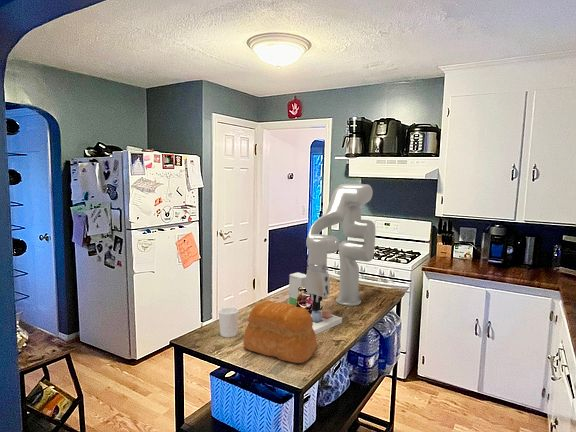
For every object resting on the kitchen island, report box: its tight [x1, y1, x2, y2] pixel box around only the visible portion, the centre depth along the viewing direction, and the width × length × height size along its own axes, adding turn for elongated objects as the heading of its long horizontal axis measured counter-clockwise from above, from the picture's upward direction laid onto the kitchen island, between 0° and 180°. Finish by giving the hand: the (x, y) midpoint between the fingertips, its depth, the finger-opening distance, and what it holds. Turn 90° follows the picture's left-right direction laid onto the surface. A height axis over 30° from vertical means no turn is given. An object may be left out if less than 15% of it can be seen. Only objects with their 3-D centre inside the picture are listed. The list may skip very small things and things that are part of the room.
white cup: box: [218, 306, 239, 338], centre depth 157 cm, size 8×8×10 cm
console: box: [310, 310, 343, 335], centre depth 164 cm, size 20×12×4 cm, turn 136°
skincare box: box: [287, 271, 307, 306], centre depth 190 cm, size 8×7×16 cm
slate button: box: [311, 310, 322, 323], centre depth 163 cm, size 4×4×4 cm
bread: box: [243, 300, 318, 364], centre depth 144 cm, size 16×26×17 cm, turn 61°
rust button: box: [321, 309, 332, 319], centre depth 168 cm, size 4×4×4 cm
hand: (316, 310), depth 163 cm, fingers closed
